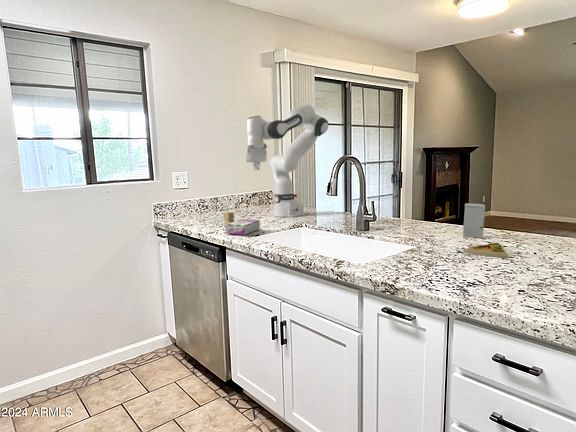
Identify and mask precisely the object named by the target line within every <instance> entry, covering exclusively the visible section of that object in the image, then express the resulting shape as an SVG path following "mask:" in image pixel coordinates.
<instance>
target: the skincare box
mask: <svg viewBox="0 0 576 432" xmlns="http://www.w3.org/2000/svg"><path fill="white" fill-rule="evenodd" d="M485 213H486V205H485V204H482V203H464V216H463V218H464V219H463V229H462V237H463V238H470V237H477V238H476V239H483V236H484V224H485Z"/></svg>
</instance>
